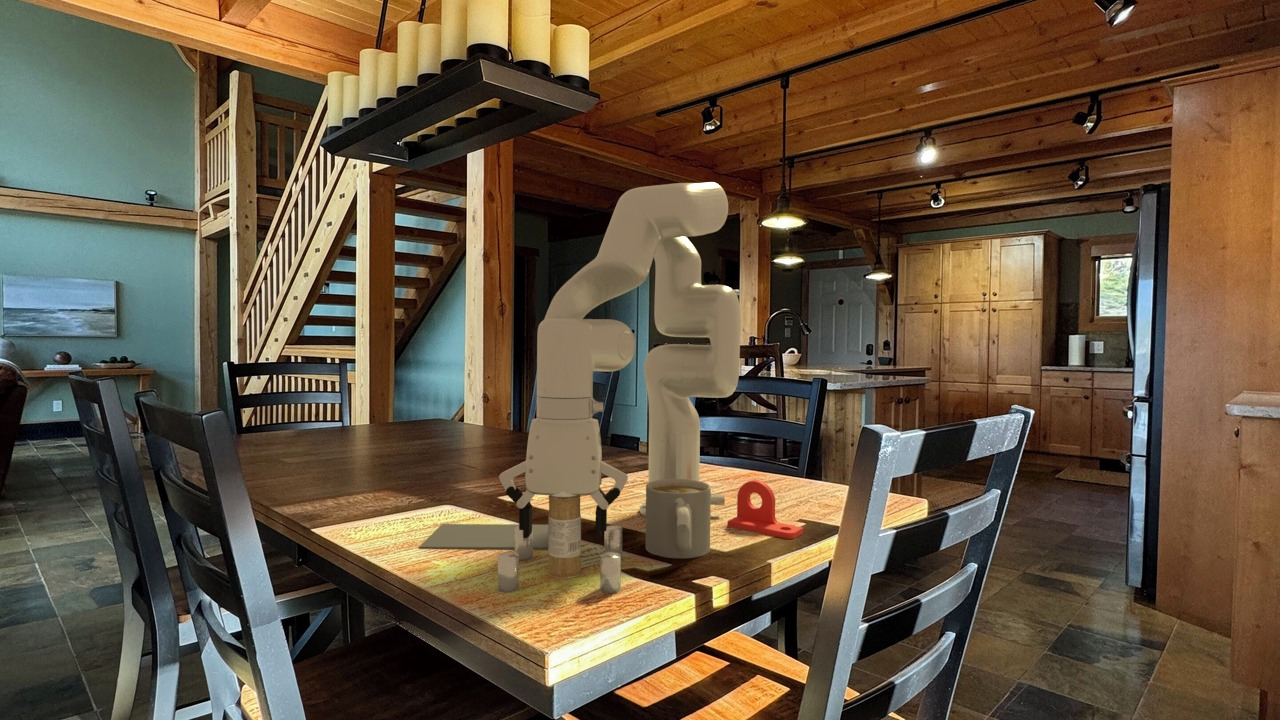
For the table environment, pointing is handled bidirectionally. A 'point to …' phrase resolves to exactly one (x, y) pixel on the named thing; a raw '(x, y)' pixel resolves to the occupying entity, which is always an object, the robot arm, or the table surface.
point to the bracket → (760, 513)
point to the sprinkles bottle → (564, 535)
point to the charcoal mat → (482, 537)
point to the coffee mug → (678, 518)
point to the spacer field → (524, 552)
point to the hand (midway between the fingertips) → (563, 535)
